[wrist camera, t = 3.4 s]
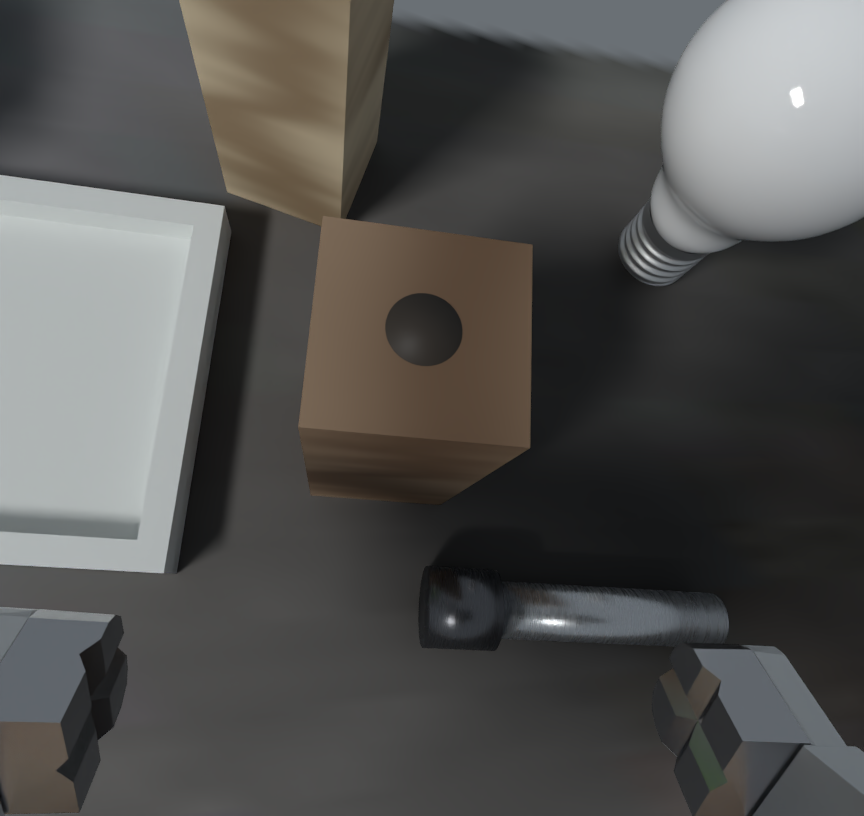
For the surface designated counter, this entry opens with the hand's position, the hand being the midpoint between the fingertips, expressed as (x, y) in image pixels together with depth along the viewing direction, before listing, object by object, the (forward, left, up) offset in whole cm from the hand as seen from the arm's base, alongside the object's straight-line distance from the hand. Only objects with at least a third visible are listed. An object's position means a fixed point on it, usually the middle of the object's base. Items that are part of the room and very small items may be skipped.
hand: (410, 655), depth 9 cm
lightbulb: (+9, +13, -10) cm, 19 cm away
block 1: (-3, +15, -10) cm, 18 cm away
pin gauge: (+6, 0, -9) cm, 11 cm away
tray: (-11, +6, -9) cm, 16 cm away
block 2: (0, +5, -10) cm, 11 cm away
